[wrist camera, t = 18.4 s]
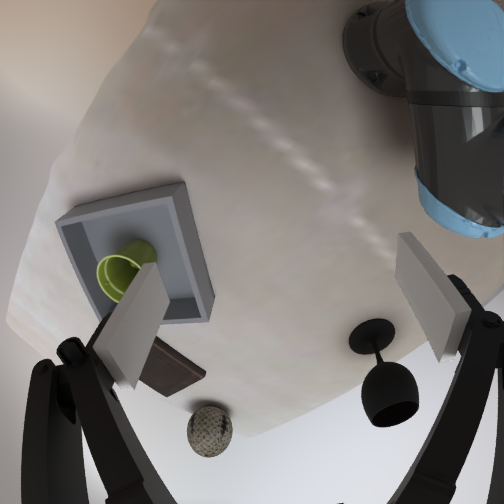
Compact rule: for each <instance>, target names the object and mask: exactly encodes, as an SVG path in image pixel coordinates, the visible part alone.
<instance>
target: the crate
mask: <svg viewBox="0 0 504 504" xmlns="http://www.w3.org/2000/svg"><path fill="white" fill-rule="evenodd" d="M55 224H56V227H57V230H58V232H59V235H60V237H61V240H62V242H63V245H64V247H65V250H66V252H67V254H68V257H69V259H70V262H71V264H72V266H73V268H74V271H75V273H76V275H77V277H78V279H79V282H80V284H81V286H82V288H83V290H84V292H85V294H86V296H87V298H88V300H89V302H90V304H91V306H92V308H93V310H94V312H95V314H96V316H97V318H98V320H99V322H101V320H102V319H103V318H104V317H105V316H106V315H107V314H108V313H109V312H113V311H114V310H115V308H116V306H117V305H118V303H117V302H115V301H114V300H112V299H111V298H110V297H109V296H108V295H106V293H105V292H104V291H103V290H102V288H101V287H100V285H99V282H98V279H97V266H98V264H99V262H100V261H101V260H102V259H103V258H104V257H106V256H108V255H112V254H115V253H116V252H118V251H119V250H120V249H122V248H123V247H125V246H126V245H127V244H128V243H130V242H131V241H133V240H143V241H146V242H147V243H148V244H149V245H150V246H152V247H153V248H154V249H155V251H156V254H157V263H156V265H157V268H158V270H159V273H160V276H161V279H162V282H163V284H164V287H165V290H166V292H167V295H168V298H169V300H170V303H169V306H168V308H167V310H166V313H165V315H164V317H163V320H162V322H161V324H182V323H200V322H209V319H210V315H211V311H212V307H213V303H214V299H215V295H214V291H213V288H212V284H211V281H210V277H209V274H208V270H207V266H206V263H205V259H204V255H203V251H202V248H201V244H200V240H199V236H198V232H197V229H196V225H195V221H194V217H193V213H192V209H191V205H190V201H189V197H188V193H187V189H186V184H185V182H181V183H176V184H170V185H165V186H161V187H156V188H151V189H146V190H142V191H137V192H132V193H128V194H124V195H119V196H115V197H111V198H107V199H103V200H99V201H95V202H91V203H87V204H83V205H79V206H75V207H74V208H73V209H71V210H70V211H69V212H67V213H66V214H65V215H63V216H62V217H61V218H59V219H58V220H57V221H55Z"/></svg>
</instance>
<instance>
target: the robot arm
mask: <svg viewBox="0 0 504 504" xmlns="http://www.w3.org/2000/svg"><path fill="white" fill-rule="evenodd" d="M343 48H344V53H345V56H346V59H347V61H348V63H349V65H350V67H351V69H352V70H353V71H354V73H355V74H356V75H357V77H358V78H359V79H360V80H361V81H362V82H364V83H365V84H366V85H367V86H369V87H370V88H372V89H373V90H375V91H377V92H379V93H382V94H385V95H389V96H396V97H408V101H409V102H408V103H409V110H410V117H411V124H412V132H413V141H414V151H415V162H416V166H415V176H416V179H417V181H418V191H419V199H420V203H421V205H422V206H423V208H424V210H425V211H426V213H427V214H428V216H429V217H430V218H432V219H433V220H434V221H435V222H436V223H438V224H439V225H441V226H442V227H444V228H446V229H448V230H450V231H452V232H455V233H457V234H460V235H464V236H467V237H472V238H480V237H481V236H484V237H485V238H494V237H497V236H499V235H500V234H502V233H503V232H504V11H503V10H502V9H501V7H500V6H499V5H498V4H497V3H495V2H494V1H493V0H394V1H392V2H376V3H372V4H368V5H366V6H364V7H362V8H361V9H359V10H358V11H357V12H356V13H355V14H354V15H353V16H352V17H351V18H350V19H349V21H348V22H347V24H346V27H345V29H344V34H343ZM395 278H396V280H397V282H398V284H399V285H400V287H401V289H402V291H403V293H404V294H405V296H406V298H407V300H408V302H409V304H410V306H411V307H412V309H413V311H414V313H415V315H416V317H417V319H418V321H419V323H420V325H421V327H422V329H423V331H424V333H425V335H426V337H427V339H428V341H429V343H430V345H431V347H432V349H433V351H434V353H435V356H436V358H437V360H438V362H439V363H443V362H447V361H451V360H454V358H455V356H456V353H457V351H459V353H460V355H461V359H460V361H459V364H458V366H457V368H456V371H455V375H454V378H453V380H452V383H451V385H450V388H449V390H448V393H447V395H446V398H445V400H444V402H443V405H442V407H441V409H440V411H439V414H438V416H437V418H436V420H435V422H434V424H433V426H432V428H431V430H430V432H429V434H428V436H427V438H426V440H425V442H424V444H423V446H422V448H421V450H420V452H419V453H418V455H417V457H416V459H415V461H414V463H413V464H412V466H411V467H410V469H409V471H408V473H407V474H406V476H405V477H404V479H403V481H402V482H401V484H400V485H399V487H398V489H397V490H396V492H395V493H394V494H393V496H392V497H391V499H390V500H389V501H388V503H387V504H449V503H450V501H451V499H452V497H453V495H454V493H455V490H456V485H455V483H456V480H457V478H458V476H459V474H460V472H461V469H462V467H463V465H464V463H465V460H466V458H467V455H468V453H469V450H470V448H471V445H472V443H473V440H474V437H475V435H476V432H477V429H478V427H479V424H480V421H481V418H482V415H483V412H484V408H485V405H486V402H487V398H488V395H489V391H490V387H491V383H492V379H493V376H494V371H495V368H498V423H497V437H496V448H495V457H494V465H493V472H492V479H491V484H490V490H489V495H488V499H487V504H504V321H502V319H501V317H500V316H498V315H497V314H496V313H493V312H491V311H485V310H484V308H483V307H482V306H481V304H480V303H479V302H478V300H477V299H476V298H475V296H474V295H473V294H472V293H471V291H470V290H469V288H467V286H466V285H465V283H464V282H463V281H462V280H461V279H460V278H458V277H457V276H455V275H454V274H453V275H447V276H446V274H445V273H444V272H443V270H442V269H441V268H440V267H439V265H438V264H437V263H436V261H435V260H434V259H433V258H432V257H431V255H430V254H429V253H428V252H427V250H426V249H425V248H424V247H423V246H422V244H421V243H420V242H419V241H418V240H417V238H416V237H415V236H414V235H413V234H412V233H411V232H404V233H398V243H397V258H396V270H395ZM169 303H170V300H169V298H168V295H167V292H166V290H165V287H164V284H163V282H162V279H161V276H160V273H159V270H158V268H157V265H156V262H153V263H145V264H143V265H142V267H141V268H140V270H139V272H138V273H137V275H136V276H135V278H134V279H133V281H132V282H131V284H130V286H129V287H128V289H127V290H126V292H125V293H124V295H123V297H122V298H121V300H120V301H119V303H118V305H117V306H116V308H115V310H114V311H113V312H109V313H108V314H107V315H106V316H105V317H104V318H103V319H102V320H101V322H100V324H99V325H98V327H97V328H96V330H95V333H93V335H92V337H91V338H90V340H89V342H88V344H87V345H86V347H85V346H84V345H83V343H82V342H81V340H80V339H79V338H77V337H71V338H68V339H66V340H65V341H63V342H62V343H61V344H60V345H59V346H58V348H57V352H56V353H57V355H58V356H59V358H60V359H61V361H62V362H63V365H58V366H55V364H54V363H53V362H52V360H50V359H44V360H41V361H39V362H38V363H37V364H36V365H35V366H34V368H33V370H32V374H31V380H30V386H29V392H28V398H27V405H26V413H25V421H24V431H23V444H22V463H21V499H22V500H21V501H22V504H89V499H88V493H87V486H86V477H85V468H84V458H83V446H82V430H81V429H83V432H84V435H85V438H86V441H87V444H88V447H89V449H90V452H91V455H92V457H93V460H94V462H95V465H96V468H97V470H98V473H99V475H100V477H101V480H102V482H103V484H104V486H105V489H106V491H107V494H108V498H107V499H106V500H105V503H106V504H177V502H176V501H175V500H174V498H173V497H172V495H171V494H170V492H169V491H168V489H167V488H166V486H165V484H164V483H163V481H162V480H161V478H160V476H159V475H158V473H157V471H156V470H155V468H154V466H153V465H152V463H151V461H150V459H149V458H148V456H147V454H146V452H145V451H144V449H143V447H142V445H141V443H140V442H139V440H138V438H137V436H136V434H135V432H134V430H133V428H132V426H131V424H130V422H129V420H128V418H127V416H126V414H125V412H124V410H123V408H122V406H121V404H120V401H119V400H118V397H117V395H116V392H115V391H114V389H113V388H112V386H113V384H114V382H116V384H117V385H118V386H119V388H120V389H124V390H125V389H126V390H135V387H136V384H137V382H138V379H139V377H140V374H141V372H142V369H143V367H144V364H145V361H146V359H147V356H148V354H149V351H150V349H151V346H152V344H153V342H154V339H155V337H156V334H157V332H158V329H159V327H160V325H161V322H162V320H163V317H164V315H165V313H166V310H167V308H168V306H169ZM81 426H82V428H81ZM339 504H343V503H339Z"/></svg>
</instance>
